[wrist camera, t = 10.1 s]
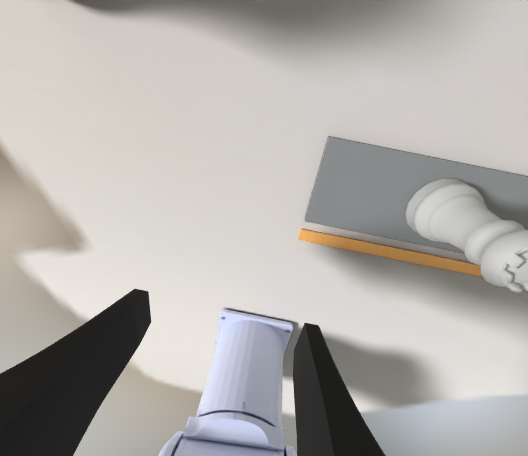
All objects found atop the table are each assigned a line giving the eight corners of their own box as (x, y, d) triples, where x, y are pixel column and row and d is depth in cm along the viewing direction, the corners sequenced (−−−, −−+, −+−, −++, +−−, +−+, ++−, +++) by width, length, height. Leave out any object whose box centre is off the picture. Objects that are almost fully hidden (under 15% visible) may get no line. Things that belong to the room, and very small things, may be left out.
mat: (539, 265, 19) (546, 270, 19) (304, 218, 19) (305, 221, 19) (606, 192, 16) (617, 195, 16) (328, 136, 16) (329, 136, 16)
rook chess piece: (474, 171, 16) (629, 219, 9) (463, 228, 18) (582, 307, 10) (404, 182, 16) (493, 235, 9) (400, 236, 18) (472, 314, 11)
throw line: (522, 284, 20) (525, 285, 20) (298, 238, 20) (298, 239, 20) (531, 275, 20) (533, 276, 19) (301, 228, 20) (301, 229, 19)
